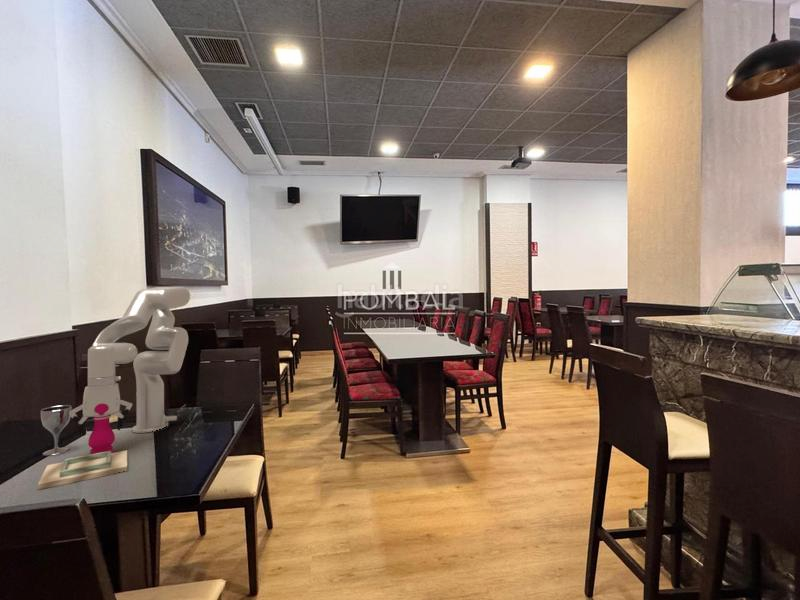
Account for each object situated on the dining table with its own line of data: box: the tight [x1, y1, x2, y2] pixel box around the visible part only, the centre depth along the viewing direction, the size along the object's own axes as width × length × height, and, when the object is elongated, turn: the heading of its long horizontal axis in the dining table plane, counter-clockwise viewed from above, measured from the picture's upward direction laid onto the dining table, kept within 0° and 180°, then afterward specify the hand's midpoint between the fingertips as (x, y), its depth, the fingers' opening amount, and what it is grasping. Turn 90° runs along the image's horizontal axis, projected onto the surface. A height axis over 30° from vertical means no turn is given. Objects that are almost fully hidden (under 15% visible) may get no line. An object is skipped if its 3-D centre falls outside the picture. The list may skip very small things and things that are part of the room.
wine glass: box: [40, 404, 72, 456], centre depth 134 cm, size 8×8×15 cm
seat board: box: [37, 450, 128, 491], centre depth 118 cm, size 20×16×3 cm
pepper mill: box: [87, 404, 116, 455], centre depth 132 cm, size 7×7×20 cm
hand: (101, 431), depth 132 cm, fingers open, 9 cm apart
